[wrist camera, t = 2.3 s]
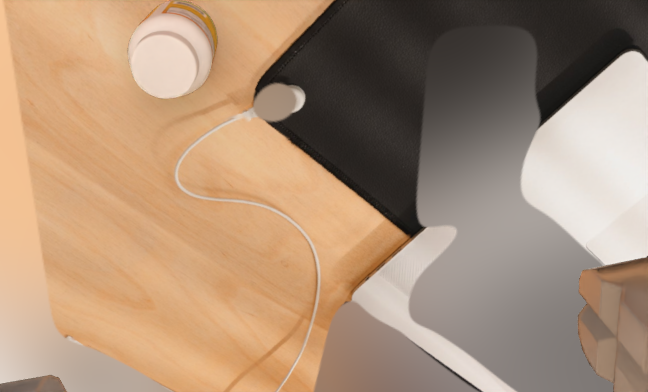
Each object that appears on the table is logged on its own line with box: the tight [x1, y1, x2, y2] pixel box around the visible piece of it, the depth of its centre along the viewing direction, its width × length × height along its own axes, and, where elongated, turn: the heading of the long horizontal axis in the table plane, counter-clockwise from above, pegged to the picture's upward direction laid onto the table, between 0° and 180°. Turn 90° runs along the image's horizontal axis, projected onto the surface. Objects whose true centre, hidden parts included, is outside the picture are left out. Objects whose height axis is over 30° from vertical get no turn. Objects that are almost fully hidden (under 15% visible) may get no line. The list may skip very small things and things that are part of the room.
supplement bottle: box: [128, 0, 217, 99], centre depth 40 cm, size 5×5×10 cm
